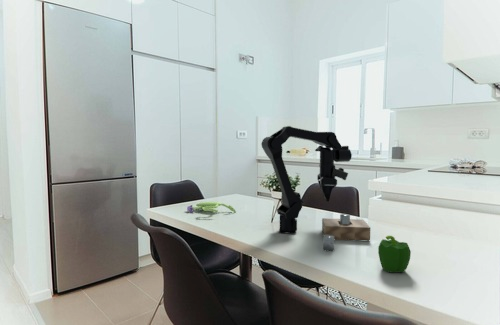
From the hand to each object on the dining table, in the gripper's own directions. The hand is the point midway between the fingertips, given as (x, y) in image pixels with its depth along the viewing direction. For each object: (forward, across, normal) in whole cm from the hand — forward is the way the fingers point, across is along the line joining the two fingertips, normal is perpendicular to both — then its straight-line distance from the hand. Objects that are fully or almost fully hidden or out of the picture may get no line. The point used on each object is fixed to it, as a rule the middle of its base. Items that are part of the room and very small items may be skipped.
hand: (326, 199), depth 133 cm
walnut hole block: (+12, -11, -6) cm, 17 cm away
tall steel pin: (+12, -11, -6) cm, 17 cm away
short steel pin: (+12, -28, +2) cm, 31 cm away
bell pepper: (+12, -43, -14) cm, 47 cm away
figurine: (+13, +22, +56) cm, 61 cm away
